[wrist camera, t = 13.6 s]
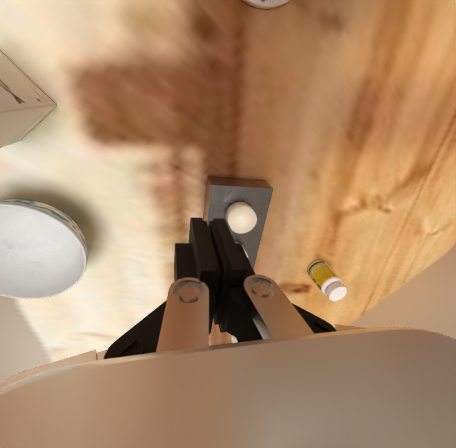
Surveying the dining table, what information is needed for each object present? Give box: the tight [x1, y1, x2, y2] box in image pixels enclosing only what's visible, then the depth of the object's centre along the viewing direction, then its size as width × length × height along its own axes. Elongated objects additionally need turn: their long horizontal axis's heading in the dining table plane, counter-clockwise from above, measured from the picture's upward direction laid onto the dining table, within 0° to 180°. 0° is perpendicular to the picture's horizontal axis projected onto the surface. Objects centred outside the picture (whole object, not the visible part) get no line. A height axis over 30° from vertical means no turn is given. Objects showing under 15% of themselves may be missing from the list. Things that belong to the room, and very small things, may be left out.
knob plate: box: [203, 176, 273, 269], centre depth 44 cm, size 24×10×4 cm, turn 172°
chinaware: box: [0, 200, 87, 299], centre depth 34 cm, size 15×15×8 cm
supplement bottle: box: [307, 260, 347, 301], centre depth 51 cm, size 5×5×8 cm
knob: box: [226, 202, 257, 234], centre depth 38 cm, size 4×4×6 cm
